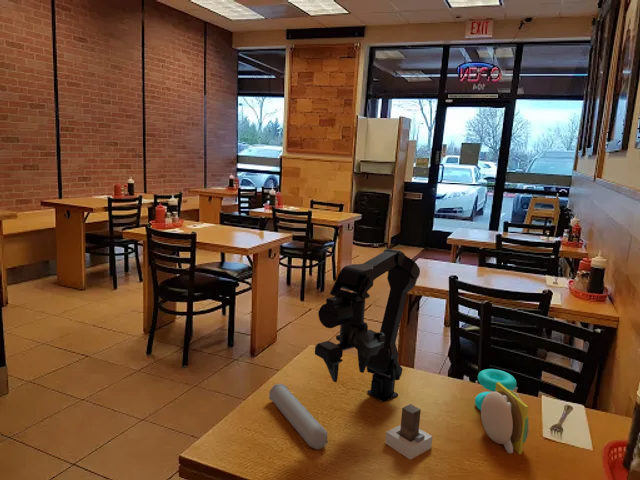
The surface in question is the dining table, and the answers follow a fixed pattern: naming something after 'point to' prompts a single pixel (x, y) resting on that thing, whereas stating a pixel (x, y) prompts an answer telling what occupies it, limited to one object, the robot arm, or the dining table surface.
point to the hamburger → (505, 418)
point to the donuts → (493, 382)
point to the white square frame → (408, 442)
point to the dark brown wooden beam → (410, 422)
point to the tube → (298, 416)
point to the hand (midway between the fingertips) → (348, 376)
